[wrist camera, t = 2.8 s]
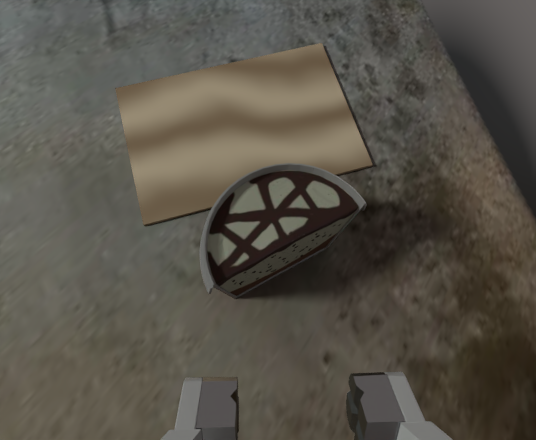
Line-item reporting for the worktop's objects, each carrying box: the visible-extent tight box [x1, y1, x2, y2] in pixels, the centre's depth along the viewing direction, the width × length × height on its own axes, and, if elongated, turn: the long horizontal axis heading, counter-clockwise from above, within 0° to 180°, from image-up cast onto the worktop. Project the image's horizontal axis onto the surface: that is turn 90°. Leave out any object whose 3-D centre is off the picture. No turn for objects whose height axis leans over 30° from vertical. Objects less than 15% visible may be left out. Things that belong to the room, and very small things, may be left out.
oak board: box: [115, 43, 373, 226], centre depth 39 cm, size 15×22×1 cm
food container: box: [199, 163, 367, 299], centre depth 30 cm, size 12×6×10 cm, turn 119°
